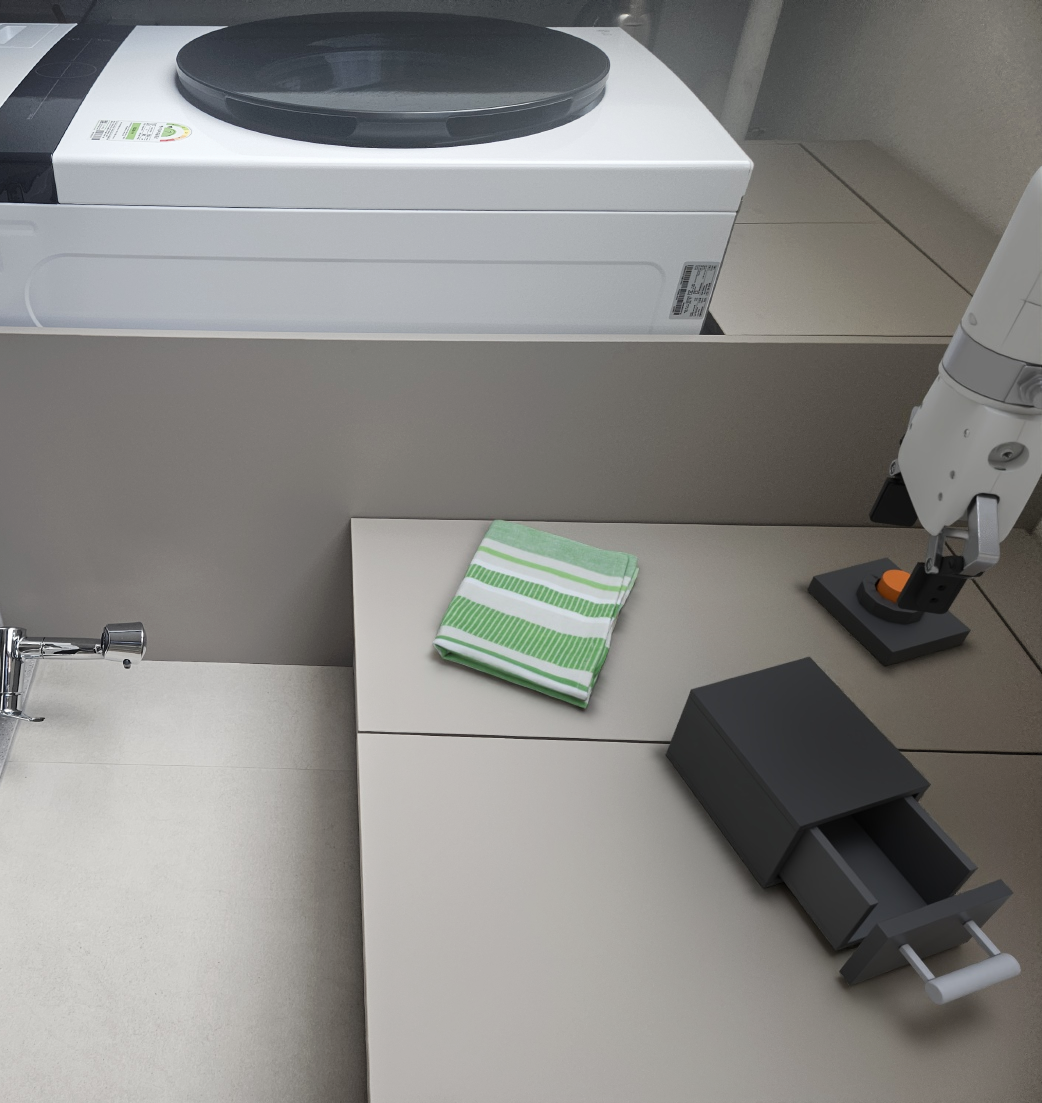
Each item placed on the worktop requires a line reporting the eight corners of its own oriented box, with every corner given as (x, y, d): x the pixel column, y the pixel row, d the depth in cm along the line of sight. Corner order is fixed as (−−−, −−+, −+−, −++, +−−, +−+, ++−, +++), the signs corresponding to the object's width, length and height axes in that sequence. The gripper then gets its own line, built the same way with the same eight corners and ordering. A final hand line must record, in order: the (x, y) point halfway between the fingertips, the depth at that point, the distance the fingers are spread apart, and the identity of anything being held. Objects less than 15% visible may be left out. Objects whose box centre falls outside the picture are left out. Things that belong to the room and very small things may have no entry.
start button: (921, 600, 101) (928, 588, 100) (893, 607, 101) (900, 596, 99) (896, 578, 104) (902, 566, 103) (869, 585, 103) (875, 573, 102)
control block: (962, 644, 101) (979, 617, 99) (884, 666, 99) (899, 640, 97) (879, 571, 110) (893, 545, 107) (806, 590, 108) (819, 564, 105)
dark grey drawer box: (885, 847, 84) (931, 784, 77) (762, 888, 81) (800, 826, 75) (776, 721, 94) (809, 656, 88) (665, 754, 91) (690, 689, 85)
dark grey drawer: (1011, 993, 73) (1064, 946, 68) (890, 1041, 71) (934, 995, 66) (848, 803, 86) (882, 751, 81) (740, 838, 84) (767, 786, 78)
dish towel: (639, 570, 111) (644, 552, 109) (591, 714, 95) (596, 697, 93) (491, 527, 117) (493, 510, 115) (422, 657, 101) (424, 639, 99)
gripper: (1138, 449, 53) (993, 656, 64) (1035, 304, 66) (930, 499, 77) (989, 432, 54) (873, 638, 66) (917, 294, 67) (830, 487, 78)
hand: (904, 563), depth 71 cm, fingers open, 9 cm apart
